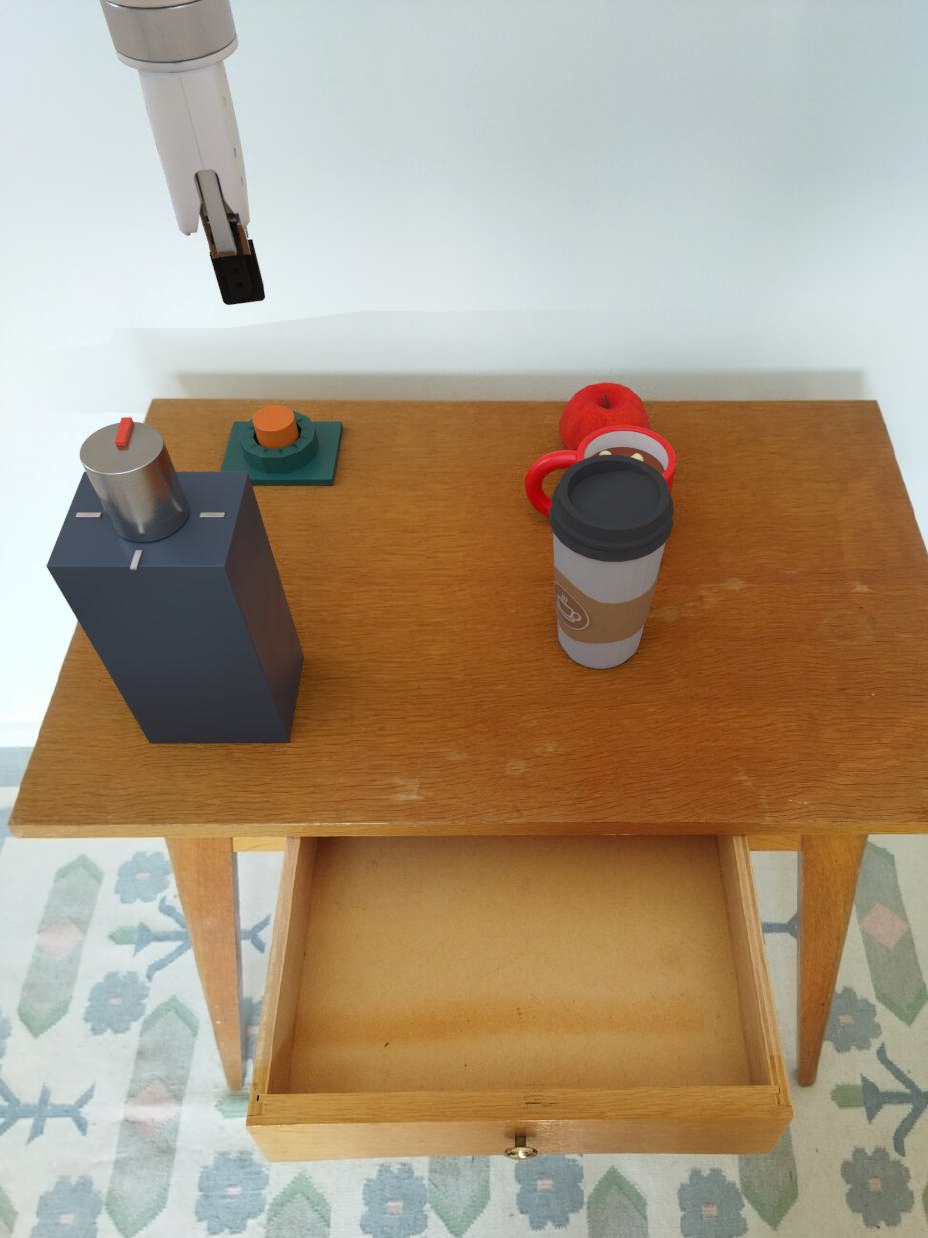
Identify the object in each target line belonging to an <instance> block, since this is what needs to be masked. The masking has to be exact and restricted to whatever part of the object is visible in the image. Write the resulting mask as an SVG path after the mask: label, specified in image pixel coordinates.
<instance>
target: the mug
mask: <svg viewBox="0 0 928 1238" xmlns="http://www.w3.org/2000/svg"><path fill="white" fill-rule="evenodd" d="M599 455H623V456H628V457H633V458H635V459H638V460H641V461H643V462H646V463H647V464H649V465H650V466H652V467H653V468H655V469H656V470H657V471H658V472H659V473H660V474H661V475H662V476H663V477H664V479H665V481H666V483H667V485H668V487H669V493H670V495H671V496H672V491H673V485H674V484H673V483H674V478H675V473H676V467H677V455H676V453H675V450H674V448H673V446H672V445H671V444H670V443H669V441H668V440H666V438H664V437H663V436H662V435H660V434H658V433H657V432H656V431H653V430H650V429H649V430H648V429H646V428H642V427H638V426H631V425H616V426H609V427H605V428H601V429H599V430H597V431H594V432H593V433H591V434H590V435H588V436H587V437H586V438H585V439H584V440H583V441H582V442H581V444H580V445H579V447H578V450H577V451H573V450H565V449H561V450H553V451H551V452H548V453H546V454H544V455H541V456H540V457H539V458H538V459H536V460H535V461H534V462H533V463H532V464H531V466H530V467H529V469H528V470H527V473H526V475H525V478H524V491H525V494H526V497H527V500H528V501H529V503H530V504H531V506H532V507H533V508H534V509H535V510H536V512H538V513H540V514H541V515H543V516H545V517H547V518H549V510H550V508H551V499H552V498H550V497H549V496H548V495H547V494H546V492H545V490H544V489H543V481H544V479H545V478H546V477H547V476H548V475H549V474H551V473H553V472H555V471H557V470H562V469H569V468H570V467H571V466H573V465H574V464H576V463H577V462H579V461H581V460H584V459H587V458H589V457H593V456H599Z"/></svg>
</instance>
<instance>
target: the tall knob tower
mask: <svg viewBox="0 0 928 1238" xmlns="http://www.w3.org/2000/svg"><path fill="white" fill-rule="evenodd" d="M176 474H177V476H178V479H179V482H180V484H181V487H182V490H183V492H184V495H185V497H186V500H187V503H188V506H189V515H188V518H187V520H186V522H185V523H184V524H183V526H182V527H181V528H180V529H178V530H177V531H176V532H174V533H173V534H171V535H169V536H167V537H165V538H162V539H160V540H156V541H150V542H134V541H130V540H127V539H124V538H122V537H121V536H119V535H118V534H117V533H116V532H115V530H114V529H113V527H112V525H111V523H110V521H109V518H108V516H107V514H106V512H105V510H104V508H103V506H102V504H101V502H100V500H99V498H98V496H97V494H96V491H95V489H94V487H93V485H92V483H91V481H90V479H89V477H88V475H87V473H86V471H83V473H82V475H81V478H80V480H79V482H78V485H77V487H76V490H75V493H74V495H73V498H72V500H71V503H70V506H69V508H68V510H67V513H66V516H65V518H64V520H63V523H62V525H61V528H60V531H59V533H58V536H57V538H56V541H55V543H54V545H53V547H52V551H51V553H50V556H49V558H48V560H47V563H46V569H47V570H48V573H49V574H50V576H51V577H52V579H53V580H54V583H55V584H56V586H57V587H58V589H59V591H60V592H61V594H62V596H63V598H64V599H65V601H66V602H67V605H68V606H69V608H70V610H71V611H72V613H73V615H74V617H75V618H76V620H77V622H78V623H79V625H80V627H81V628H82V630H83V632H84V633H85V635H86V637H87V639H88V640H89V642H90V644H91V646H92V647H93V649H94V650H95V652H96V654H97V656H98V657H99V659H100V661H101V662H102V664H103V666H104V667H105V669H106V671H107V672H108V675H109V676H110V678H111V680H112V682H113V683H114V684H115V687H116V688H117V690H118V692H119V693H120V695H121V697H122V698H123V700H124V702H125V703H126V705H127V707H128V709H129V711H130V712H131V714H132V715H133V717H134V720H136V722H137V724H138V726H139V727H140V729H141V732H142V733H143V735H145V738H146V739H147V742H148V743H149V744H283V743H284V744H285V743H286V744H289V743H290V741H291V737H292V736H291V735H292V729H293V723H294V717H295V713H296V712H295V711H296V706H297V699H298V694H299V689H300V682H301V676H302V671H303V670H302V669H303V664H304V659H305V654H304V651H303V648H302V644H301V642H300V638H299V635H298V632H297V629H296V628H297V627H296V626H295V622H294V618H293V615H292V612H291V608H290V606H289V603H288V599H287V596H286V592H285V589H284V585H283V583H282V579H281V576H280V573H279V569H278V566H277V563H276V560H275V556H274V553H273V549H272V546H271V543H270V540H269V537H268V533H267V529H266V526H265V523H264V520H263V516H262V514H261V513H262V512H261V510H260V506H259V504H258V500H257V496H256V494H255V490H254V487H253V485H252V483H251V480H250V477H249V473H248V472H220V471H176Z"/></svg>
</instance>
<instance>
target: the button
mask: <svg viewBox="0 0 928 1238" xmlns="http://www.w3.org/2000/svg"><path fill="white" fill-rule="evenodd" d="M293 411H294V410H292V409H291V408H289V407H288V406H285V405H280V404H271V405H267V406H264V407H262V408H260V409H259V410H257V411H256V412H255V413H254V414H253V416H252V418H253V425H254V428H255V432H256V435H257V439H258V442H259V444H260V445H261V446H263V447H265V448H283V447H286V446H289V445H292V444H293V443H294V442H295V441H296V440H297V439H298V436H299V433H298V429H297V425H296V420H295V416H294V413H293Z"/></svg>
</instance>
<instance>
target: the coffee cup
mask: <svg viewBox="0 0 928 1238" xmlns="http://www.w3.org/2000/svg"><path fill="white" fill-rule="evenodd" d="M550 499H551V508H550V510H549V517H548V522H549V526H550V527H551V530H552V543H553V544H552V546H553V561H552V562H553V564H552V567H553V586H554V600H555V601H554V603H555V616H556V619H557V620H556V621H557V638H558V641H559V644H560V646H561V648H562V650H563V651H565V653H566V654H567V656H568V657H569V658H570V659H571V660H573V661H574V662H575V663H577V664H579V665H581V666H583V667H585V668H591V669H596V670H597V669H599V670H600V669H601V670H603V669H610V668H615V667H617V666H619V665H622V664H623V663H625V662H626V661H627V660H629V659H630V658H631V657H632V656H633V655H634V654H635V653H636V651H637V650H638V648H639V646H640V642H641V640H642V639H641V638H642V636H643V631H644V628H645V624H646V622H647V620H648V617H649V613H650V609H651V605H652V602H653V598H654V594H655V590H656V585H657V582H658V578H659V574H660V572H661V562H662V558H663V554H664V550H665V546H666V542H667V540H668V539H669V538H670V537H671V535H672V531H673V528H674V524H675V523H674V512H675V509H674V500H673V497H672V494H671V495H670V493H669V487H668V485H667V483H666V481H665V479H664V477H663V476H662V475H661V474H660V473H659V472H658V471H657V470H656V469H655V468H653V467H652V466H650V465H649V464H647V463H646V462H643V461H641V460H638V459H635V458H633V457H628V456H623V455H599V456H593V457H589V458H587V459H584V460H581V461H579V462H577V463H576V464H574V465H573V466H571V467H570V468H567V469H566V471H564V473H563V474H562V475H561V477H560V480H559V481H558V484H557V485H556V486H555V488H554V490H553V493H552V496H551V498H550Z"/></svg>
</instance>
